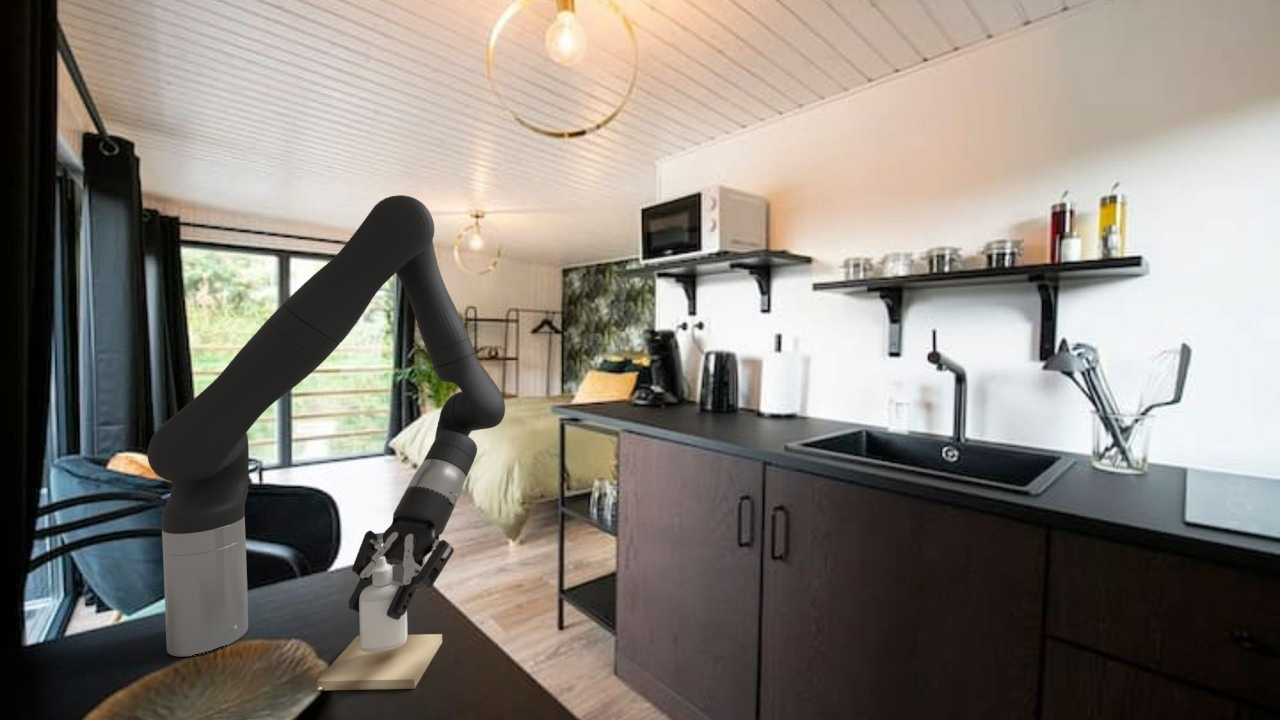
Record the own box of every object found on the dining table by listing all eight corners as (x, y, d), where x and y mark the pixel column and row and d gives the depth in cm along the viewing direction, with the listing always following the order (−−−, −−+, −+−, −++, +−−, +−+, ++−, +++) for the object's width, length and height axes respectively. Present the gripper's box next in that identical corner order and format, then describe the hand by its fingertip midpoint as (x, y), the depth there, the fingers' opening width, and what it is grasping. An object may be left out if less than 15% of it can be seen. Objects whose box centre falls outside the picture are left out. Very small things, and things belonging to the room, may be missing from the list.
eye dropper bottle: (391, 657, 68) (389, 566, 68) (354, 651, 69) (351, 562, 69) (413, 638, 72) (411, 552, 72) (377, 633, 74) (375, 549, 73)
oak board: (317, 690, 66) (316, 681, 66) (357, 643, 76) (357, 635, 76) (414, 688, 66) (414, 679, 66) (442, 642, 76) (442, 634, 76)
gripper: (378, 480, 79) (311, 596, 68) (461, 488, 75) (404, 613, 64) (404, 504, 84) (345, 615, 73) (483, 512, 80) (433, 631, 70)
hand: (373, 613), depth 69 cm, fingers closed on eye dropper bottle, 5 cm apart
